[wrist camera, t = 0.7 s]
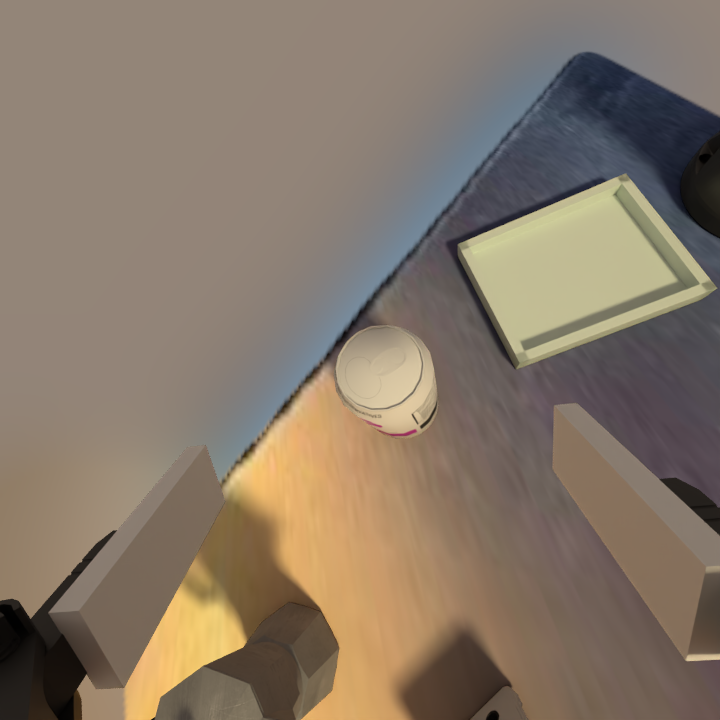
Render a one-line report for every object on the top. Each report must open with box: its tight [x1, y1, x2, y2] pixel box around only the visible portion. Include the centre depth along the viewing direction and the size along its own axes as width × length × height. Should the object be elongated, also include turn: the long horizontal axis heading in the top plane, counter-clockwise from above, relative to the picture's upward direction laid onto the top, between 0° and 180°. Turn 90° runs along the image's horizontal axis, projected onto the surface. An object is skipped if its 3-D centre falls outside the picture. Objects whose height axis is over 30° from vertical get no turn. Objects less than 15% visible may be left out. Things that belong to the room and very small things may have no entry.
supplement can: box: [334, 325, 439, 439], centre depth 36 cm, size 8×8×15 cm
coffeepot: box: [151, 602, 339, 720], centre depth 30 cm, size 15×9×18 cm, turn 102°
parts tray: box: [457, 174, 717, 369], centre depth 42 cm, size 20×16×2 cm
